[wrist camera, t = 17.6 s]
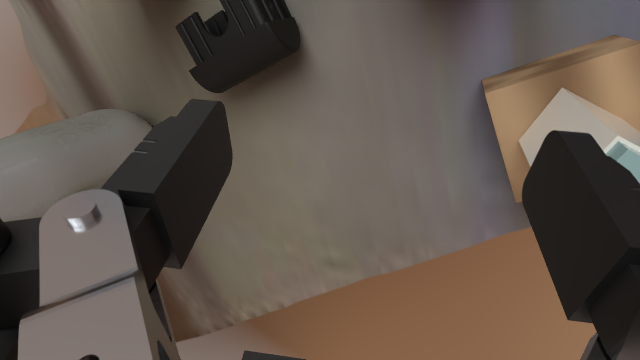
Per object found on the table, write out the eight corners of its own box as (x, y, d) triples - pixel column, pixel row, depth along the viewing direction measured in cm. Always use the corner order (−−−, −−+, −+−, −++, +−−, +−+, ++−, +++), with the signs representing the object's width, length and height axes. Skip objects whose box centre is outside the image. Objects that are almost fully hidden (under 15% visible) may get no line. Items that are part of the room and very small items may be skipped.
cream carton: (573, 170, 30) (637, 264, 20) (518, 140, 30) (552, 217, 20) (622, 118, 28) (725, 195, 17) (562, 87, 28) (627, 143, 17)
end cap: (238, 85, 43) (204, 100, 38) (206, 26, 41) (164, 31, 36) (311, 46, 39) (284, 55, 33) (278, -24, 37) (243, -27, 31)
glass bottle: (125, 169, 55) (-134, 303, 31) (103, 98, 51) (-218, 192, 27) (182, 173, 52) (-60, 327, 28) (163, 99, 47) (-141, 205, 24)
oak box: (508, 174, 38) (515, 203, 33) (481, 79, 35) (484, 93, 30) (632, 146, 33) (662, 174, 28) (612, 34, 30) (642, 42, 25)
